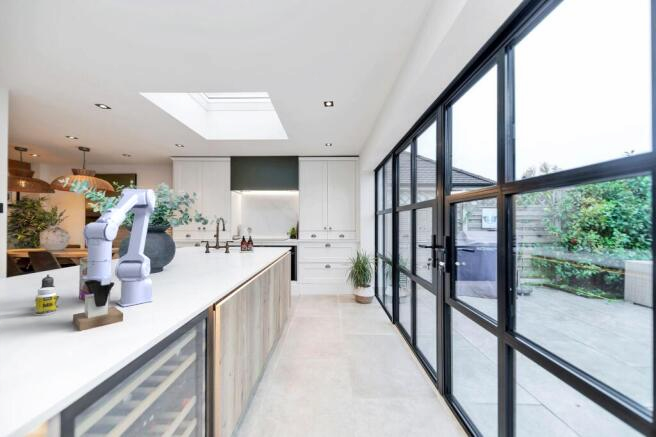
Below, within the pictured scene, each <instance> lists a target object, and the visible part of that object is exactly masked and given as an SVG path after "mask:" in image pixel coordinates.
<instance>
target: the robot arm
mask: <svg viewBox="0 0 656 437" xmlns="http://www.w3.org/2000/svg"><path fill="white" fill-rule="evenodd" d="M156 200H157V197H156V193H155V192H154V190H153V189H151V188H148V189H142V188H141V189H140V188H139V189H138V188H123V190H122V191H121V192H120V199H119V201H118V202H117V204H116V205H115V206H114V207H110V208H107V209H106V210H105V212H103V214H101V216H99V218H98V219H96V221H95V222H93V221H92V222H89V223H88V224H86V225H85V226H84V229H83V231H82V237H83V238H84V241H85V242H84V243H85V246H86V247H87V257H88V259H87V276H82V279H90V280H91V281H85V282H84V283H85V284H86V286H87V288H88V290H89V294H94V299H95V304H96V307H100V306H105V305H106V302H107V299H108V296H109V293H110V294H111V290H112V288H113V287H114V286H115V282H111V278H113V277H112V276H113V273H112V259H113V256H112V254H113V253H112V252H113V241H114V240H115V239H116V238H117V234H118V231H119V227H120V226H121V224H122V223H123V222H124V221H125V220H126V213H127V212H131V213H133V214H134V215H133V221H132V227H131V232H130V237H129V244H128V247H127V253H126V254H124V255H122V256H121V257H119V259H118V263H117V264H116V266H115V268H114V269H115V270H114V274H115V277H116V278H117V279H118V281H119V282H120V300H118V301H116V303H117V304H118V305H119V306H121V307H123V308H127V307H130V306H135V305H140V304H145V303H150V302H153V282H152V279H151V277H148V276H150V274H151V259H150V258H149V257H148V256H147V255H145V254H144V251H145V245H146V239H147V233H148V228H149V221H150V216H151V213H153V212H154V211H155V207H156V206H155V205H156ZM108 300H109V299H108Z"/></svg>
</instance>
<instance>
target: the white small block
mask: <svg viewBox="0 0 656 437" xmlns="http://www.w3.org/2000/svg"><path fill="white" fill-rule="evenodd" d="M108 308H109V299H107V302H106V305H105V306H100V307H96V304H95V299H94V294H89V295H85V300H84V312H85V314H84V315H85V316H86V317H87V318H91V317H96V316H101V315H105V314H108Z"/></svg>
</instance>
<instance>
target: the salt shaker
mask: <svg viewBox="0 0 656 437" xmlns="http://www.w3.org/2000/svg"><path fill="white" fill-rule="evenodd" d="M54 281H55V280H54V277H53V276H50V274H47V275H46V277H43V278H42V279H41V287H40V288H39V289H41V288H46V287H55V288H56V286H54ZM59 298H60V296H59V295H57V296H56V303H57V301H58V299H59ZM34 301H35V302H36V298H35V299H34ZM58 307H59V306H58V305H56V309H57V308H58Z"/></svg>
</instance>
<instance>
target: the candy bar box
mask: <svg viewBox="0 0 656 437" xmlns="http://www.w3.org/2000/svg"><path fill="white" fill-rule="evenodd" d="M87 259H88V256H87V257H80V258H79V288H78V290H79V291H78V293H79V294H78V298H79V300H84V301H85V295H89V290H88V288H87V286H86V284H85V283H84V282H85V281H91V280H90V279H82V276H87ZM108 300H111V292H110V293H109V296H108Z"/></svg>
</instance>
